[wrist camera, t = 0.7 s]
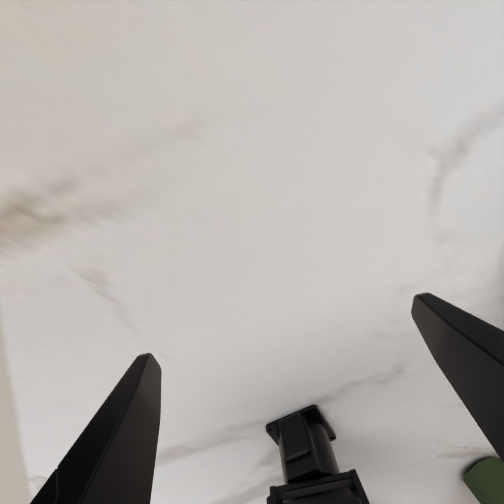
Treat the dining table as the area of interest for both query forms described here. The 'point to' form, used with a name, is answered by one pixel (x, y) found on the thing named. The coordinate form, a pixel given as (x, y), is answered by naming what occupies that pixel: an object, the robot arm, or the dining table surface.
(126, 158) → the dining table surface
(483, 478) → the character mug
